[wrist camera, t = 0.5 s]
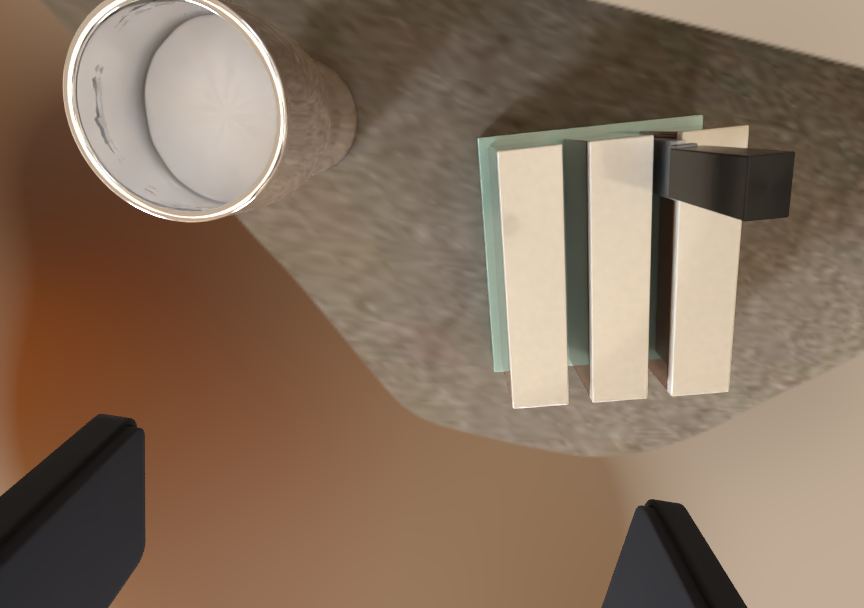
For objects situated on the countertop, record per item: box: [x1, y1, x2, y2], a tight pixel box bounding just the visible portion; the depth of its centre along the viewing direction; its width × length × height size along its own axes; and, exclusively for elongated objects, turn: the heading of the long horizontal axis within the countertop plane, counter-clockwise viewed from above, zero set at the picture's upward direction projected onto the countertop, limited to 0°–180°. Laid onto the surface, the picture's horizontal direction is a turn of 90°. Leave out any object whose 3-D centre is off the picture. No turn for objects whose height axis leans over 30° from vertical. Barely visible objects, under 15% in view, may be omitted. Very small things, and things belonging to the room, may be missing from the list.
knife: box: [652, 138, 795, 221], centre depth 23 cm, size 2×1×14 cm, turn 6°
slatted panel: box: [477, 115, 749, 409], centre depth 29 cm, size 14×12×6 cm
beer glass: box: [63, 0, 357, 222], centre depth 23 cm, size 7×7×15 cm
